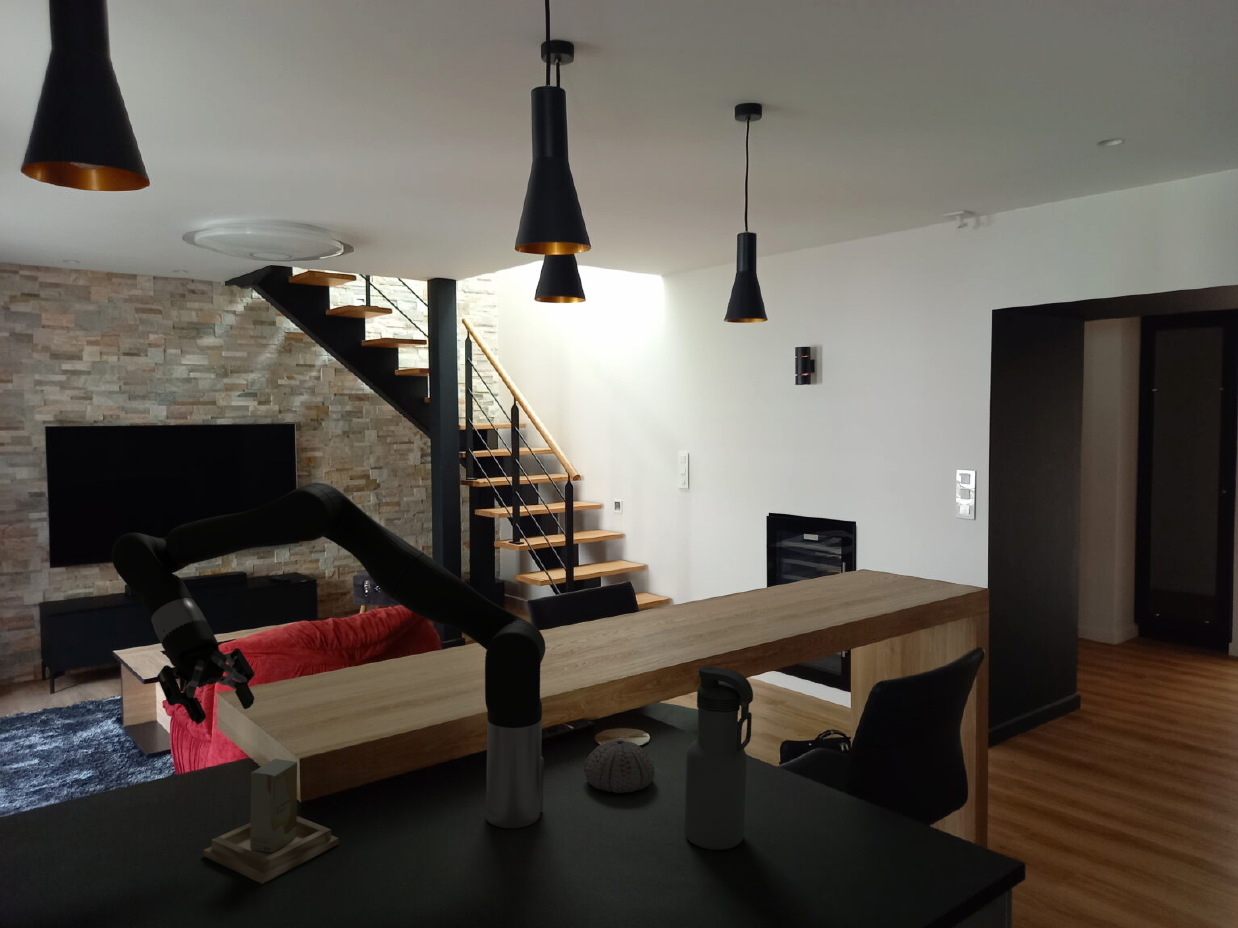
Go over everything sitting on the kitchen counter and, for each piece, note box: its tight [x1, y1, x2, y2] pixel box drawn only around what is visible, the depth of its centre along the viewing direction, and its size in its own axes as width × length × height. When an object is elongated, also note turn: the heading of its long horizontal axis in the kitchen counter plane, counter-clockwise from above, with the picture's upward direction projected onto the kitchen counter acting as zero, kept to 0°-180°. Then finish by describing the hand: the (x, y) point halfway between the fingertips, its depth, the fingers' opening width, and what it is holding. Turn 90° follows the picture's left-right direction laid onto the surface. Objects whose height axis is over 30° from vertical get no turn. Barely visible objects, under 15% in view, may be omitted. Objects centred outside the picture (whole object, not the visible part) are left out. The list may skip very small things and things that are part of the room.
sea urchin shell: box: [582, 738, 656, 794], centre depth 165 cm, size 13×14×8 cm
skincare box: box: [249, 758, 298, 853], centre depth 137 cm, size 6×4×12 cm
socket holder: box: [203, 815, 339, 884], centre depth 137 cm, size 14×14×2 cm
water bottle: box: [684, 665, 754, 851], centre depth 144 cm, size 10×10×28 cm
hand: (226, 713), depth 142 cm, fingers open, 8 cm apart
